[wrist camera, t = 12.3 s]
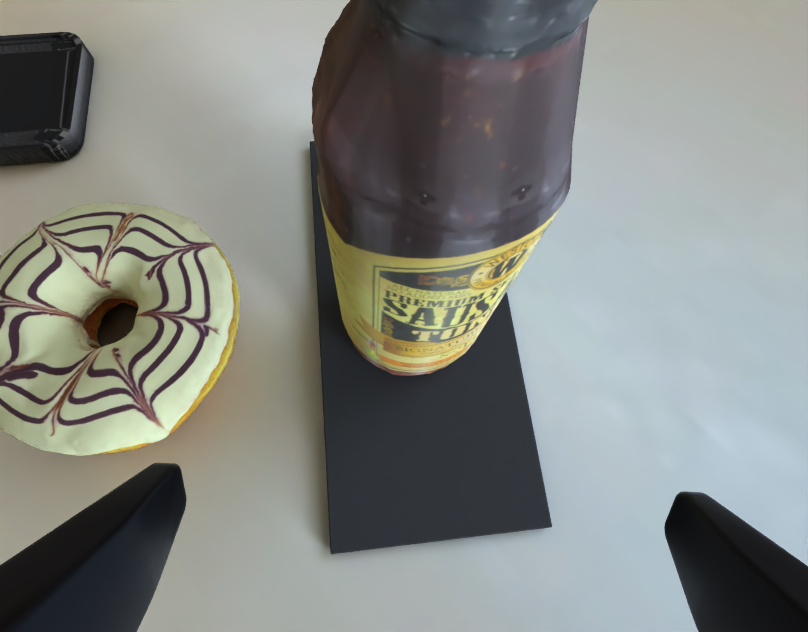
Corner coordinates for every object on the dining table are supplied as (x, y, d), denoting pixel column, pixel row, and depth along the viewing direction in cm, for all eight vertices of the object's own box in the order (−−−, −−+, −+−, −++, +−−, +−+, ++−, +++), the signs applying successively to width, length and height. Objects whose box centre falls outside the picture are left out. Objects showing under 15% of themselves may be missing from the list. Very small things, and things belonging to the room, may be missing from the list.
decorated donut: (-23, 440, 20) (-113, 432, 17) (65, 222, 24) (7, 176, 20) (216, 471, 20) (178, 469, 16) (270, 246, 24) (248, 204, 20)
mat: (549, 526, 20) (552, 527, 19) (331, 552, 19) (330, 554, 19) (474, 134, 26) (475, 129, 26) (310, 146, 26) (309, 141, 25)
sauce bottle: (386, 407, 21) (335, -322, 2) (321, 292, 22) (-40, -682, 4) (509, 336, 22) (1209, -531, 3) (438, 232, 24) (620, -726, 5)
